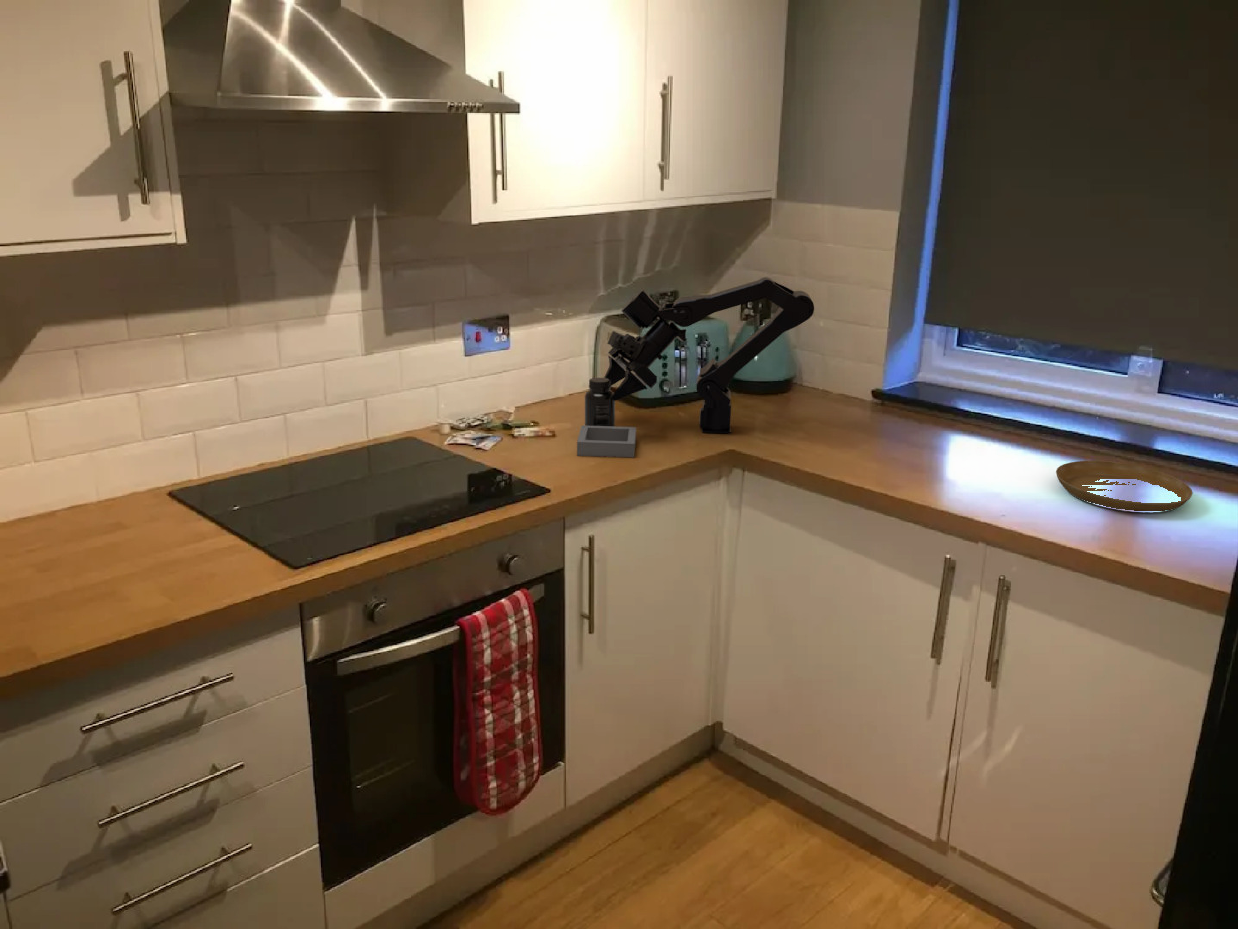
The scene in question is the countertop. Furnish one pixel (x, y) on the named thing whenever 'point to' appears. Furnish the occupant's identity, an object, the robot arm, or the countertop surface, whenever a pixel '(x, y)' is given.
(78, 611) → the countertop surface
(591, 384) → the supplement bottle
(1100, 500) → the plant saucer
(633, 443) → the holder
